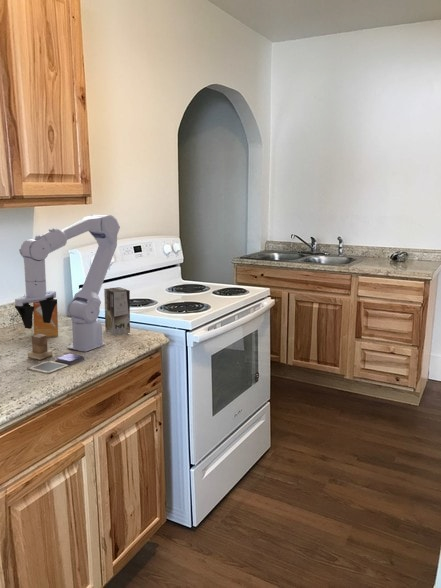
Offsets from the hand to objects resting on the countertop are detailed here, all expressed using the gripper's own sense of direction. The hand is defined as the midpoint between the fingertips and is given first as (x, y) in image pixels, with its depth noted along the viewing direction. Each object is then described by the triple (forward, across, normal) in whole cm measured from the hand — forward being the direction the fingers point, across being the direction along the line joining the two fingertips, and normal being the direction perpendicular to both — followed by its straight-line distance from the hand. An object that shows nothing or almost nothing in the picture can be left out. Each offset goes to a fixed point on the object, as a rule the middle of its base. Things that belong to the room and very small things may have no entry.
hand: (37, 325), depth 149 cm
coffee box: (+11, -36, +3) cm, 38 cm away
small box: (+11, -22, -17) cm, 30 cm away
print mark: (+10, +5, +8) cm, 14 cm away
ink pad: (+10, -2, +10) cm, 14 cm away
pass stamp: (+10, -1, 0) cm, 10 cm away
